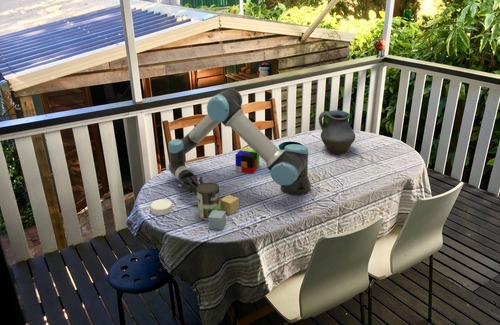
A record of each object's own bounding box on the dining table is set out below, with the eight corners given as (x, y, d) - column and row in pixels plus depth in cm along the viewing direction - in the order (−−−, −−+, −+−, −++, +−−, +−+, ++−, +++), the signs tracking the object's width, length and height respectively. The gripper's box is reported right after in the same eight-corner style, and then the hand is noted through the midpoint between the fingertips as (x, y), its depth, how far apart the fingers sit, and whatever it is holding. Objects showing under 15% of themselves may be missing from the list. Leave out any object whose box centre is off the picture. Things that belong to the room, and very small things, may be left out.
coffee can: (225, 212, 208) (224, 185, 203) (212, 222, 201) (210, 194, 195) (207, 206, 214) (205, 180, 208) (194, 216, 206) (191, 189, 200)
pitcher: (357, 158, 260) (360, 117, 250) (319, 158, 260) (321, 117, 250) (350, 144, 279) (353, 105, 268) (315, 145, 279) (316, 106, 269)
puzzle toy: (236, 171, 248) (235, 154, 244) (243, 164, 256) (242, 148, 252) (252, 174, 245) (252, 157, 240) (259, 166, 253) (259, 150, 249)
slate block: (226, 222, 200) (225, 211, 198) (222, 230, 195) (221, 218, 192) (213, 221, 201) (212, 210, 199) (209, 228, 196) (208, 217, 194)
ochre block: (239, 209, 211) (238, 198, 208) (230, 214, 206) (230, 203, 204) (229, 205, 214) (228, 194, 211) (221, 211, 210) (220, 199, 207)
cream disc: (176, 211, 210) (175, 205, 209) (155, 218, 206) (155, 211, 204) (167, 203, 218) (167, 196, 217) (148, 208, 213) (147, 202, 212)
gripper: (197, 179, 232) (216, 198, 213) (173, 185, 227) (191, 205, 208) (196, 166, 229) (215, 184, 210) (172, 172, 224) (189, 191, 205)
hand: (203, 195), depth 209 cm, fingers closed
